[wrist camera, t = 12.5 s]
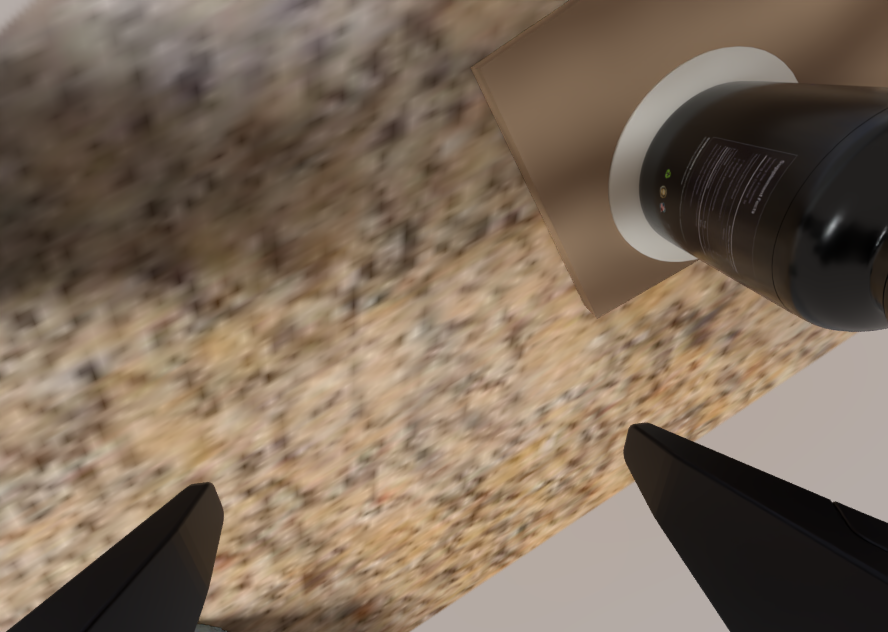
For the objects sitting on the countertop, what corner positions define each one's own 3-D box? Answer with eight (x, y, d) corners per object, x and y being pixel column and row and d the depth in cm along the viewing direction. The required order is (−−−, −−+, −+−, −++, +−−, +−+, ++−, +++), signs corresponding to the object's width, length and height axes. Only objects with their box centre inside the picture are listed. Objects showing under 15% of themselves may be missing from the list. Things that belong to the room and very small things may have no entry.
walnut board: (470, 67, 18) (481, 68, 16) (859, -197, 16) (910, -222, 15) (584, 305, 24) (599, 320, 23) (870, 137, 23) (906, 143, 21)
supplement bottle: (797, 67, 18) (1360, 77, 8) (758, 227, 22) (1119, 376, 12) (638, 92, 18) (1030, 138, 8) (624, 252, 21) (879, 434, 11)
